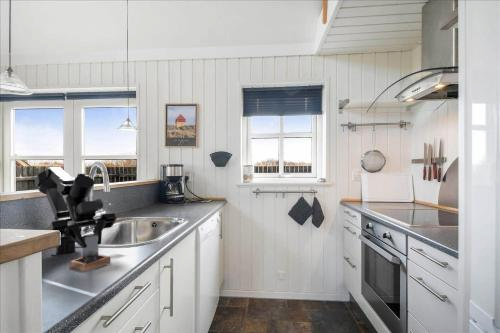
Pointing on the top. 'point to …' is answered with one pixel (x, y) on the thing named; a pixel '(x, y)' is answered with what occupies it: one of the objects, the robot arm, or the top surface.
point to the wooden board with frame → (86, 267)
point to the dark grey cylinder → (90, 248)
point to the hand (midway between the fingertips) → (92, 245)
